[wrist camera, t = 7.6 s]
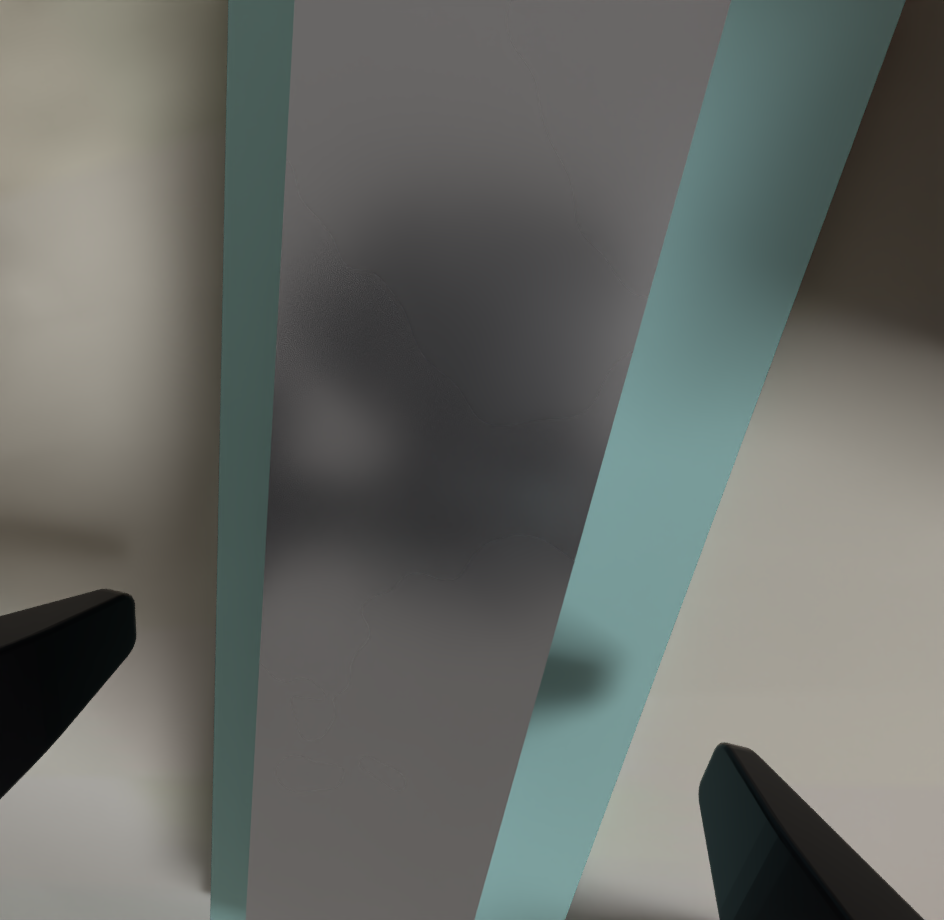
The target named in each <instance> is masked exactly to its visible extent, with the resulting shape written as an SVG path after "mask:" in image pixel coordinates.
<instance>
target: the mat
mask: <svg viewBox="0 0 944 920" xmlns="http://www.w3.org/2000/svg"><path fill="white" fill-rule="evenodd" d="M294 1H295V0H228V48H227V99H226V150H225V200H224V251H223V301H222V352H221V403H220V453H219V504H218V554H217V605H216V656H215V706H214V757H213V807H212V858H211V909H210V920H246V905H247V886H248V867H249V848H250V829H251V810H252V792H253V773H254V754H255V735H256V716H257V697H258V679H259V660H260V641H261V622H262V603H263V585H264V566H265V547H266V528H267V509H268V490H269V472H270V453H271V434H272V415H273V396H274V377H275V359H276V340H277V321H278V302H279V283H280V265H281V246H282V227H283V208H284V189H285V170H286V152H287V133H288V114H289V95H290V76H291V57H292V39H293V20H294ZM905 1H906V0H731V3H730V7H729V10H728V14H727V18H726V21H725V25H724V28H723V32H722V35H721V39H720V43H719V46H718V50H717V53H716V57H715V60H714V64H713V68H712V71H711V75H710V78H709V82H708V86H707V89H706V93H705V96H704V100H703V103H702V107H701V111H700V114H699V118H698V121H697V125H696V129H695V132H694V136H693V139H692V143H691V146H690V150H689V154H688V157H687V161H686V164H685V168H684V171H683V175H682V179H681V182H680V186H679V189H678V193H677V197H676V200H675V204H674V207H673V211H672V214H671V218H670V222H669V225H668V229H667V232H666V236H665V240H664V243H663V247H662V250H661V254H660V257H659V261H658V265H657V268H656V272H655V275H654V279H653V282H652V286H651V290H650V293H649V297H648V300H647V304H646V308H645V311H644V315H643V318H642V322H641V325H640V329H639V333H638V336H637V340H636V343H635V347H634V350H633V354H632V358H631V361H630V365H629V368H628V372H627V376H626V379H625V383H624V386H623V390H622V393H621V397H620V401H619V404H618V408H617V411H616V415H615V419H614V422H613V426H612V429H611V433H610V436H609V440H608V444H607V447H606V451H605V454H604V458H603V461H602V465H601V469H600V472H599V476H598V479H597V483H596V487H595V490H594V494H593V497H592V501H591V504H590V508H589V512H588V515H587V519H586V522H585V526H584V530H583V533H582V537H581V540H580V544H579V547H578V551H577V555H576V558H575V562H574V565H573V569H572V572H571V576H570V580H569V583H568V587H567V590H566V594H565V598H564V601H563V605H562V608H561V612H560V615H559V619H558V623H557V626H556V630H555V633H554V637H553V640H552V644H551V648H550V651H549V655H548V658H547V662H546V666H545V669H544V673H543V676H542V680H541V683H540V687H539V691H538V694H537V698H536V701H535V705H534V709H533V712H532V716H531V719H530V723H529V726H528V730H527V734H526V737H525V741H524V744H523V748H522V751H521V755H520V759H519V762H518V766H517V769H516V773H515V777H514V780H513V784H512V787H511V791H510V794H509V798H508V802H507V805H506V809H505V812H504V816H503V820H502V823H501V827H500V830H499V834H498V837H497V841H496V845H495V848H494V852H493V855H492V859H491V862H490V866H489V870H488V873H487V877H486V880H485V884H484V888H483V891H482V895H481V898H480V902H479V905H478V909H477V913H476V916H475V920H565V918H566V916H567V913H568V910H569V907H570V905H571V902H572V899H573V897H574V894H575V891H576V889H577V886H578V883H579V881H580V878H581V875H582V872H583V870H584V867H585V864H586V862H587V859H588V856H589V854H590V851H591V848H592V845H593V843H594V840H595V837H596V835H597V832H598V829H599V827H600V824H601V821H602V818H603V816H604V813H605V810H606V808H607V805H608V802H609V800H610V797H611V794H612V791H613V789H614V786H615V783H616V781H617V778H618V775H619V773H620V770H621V767H622V764H623V762H624V759H625V756H626V754H627V751H628V748H629V746H630V743H631V740H632V738H633V735H634V732H635V729H636V727H637V724H638V721H639V719H640V716H641V713H642V711H643V708H644V705H645V702H646V700H647V697H648V694H649V692H650V689H651V686H652V684H653V681H654V678H655V675H656V673H657V670H658V667H659V665H660V662H661V659H662V657H663V654H664V651H665V648H666V646H667V643H668V640H669V638H670V635H671V632H672V630H673V627H674V624H675V621H676V619H677V616H678V613H679V611H680V608H681V605H682V603H683V600H684V597H685V595H686V592H687V589H688V586H689V584H690V581H691V578H692V576H693V573H694V570H695V568H696V565H697V562H698V559H699V557H700V554H701V551H702V549H703V546H704V543H705V541H706V538H707V535H708V532H709V530H710V527H711V524H712V522H713V519H714V516H715V514H716V511H717V508H718V505H719V503H720V500H721V497H722V495H723V492H724V489H725V487H726V484H727V481H728V479H729V476H730V473H731V470H732V468H733V465H734V462H735V460H736V457H737V454H738V452H739V449H740V446H741V443H742V441H743V438H744V435H745V433H746V430H747V427H748V425H749V422H750V419H751V416H752V414H753V411H754V408H755V406H756V403H757V400H758V398H759V395H760V392H761V389H762V387H763V384H764V381H765V379H766V376H767V373H768V371H769V368H770V365H771V362H772V360H773V357H774V354H775V352H776V349H777V346H778V344H779V341H780V338H781V336H782V333H783V330H784V327H785V325H786V322H787V319H788V317H789V314H790V311H791V309H792V306H793V303H794V300H795V298H796V295H797V292H798V290H799V287H800V284H801V282H802V279H803V276H804V273H805V271H806V268H807V265H808V263H809V260H810V257H811V255H812V252H813V249H814V246H815V244H816V241H817V238H818V236H819V233H820V230H821V228H822V225H823V222H824V219H825V217H826V214H827V211H828V209H829V206H830V203H831V201H832V198H833V195H834V193H835V190H836V187H837V184H838V182H839V179H840V176H841V174H842V171H843V168H844V166H845V163H846V160H847V157H848V155H849V152H850V149H851V147H852V144H853V141H854V139H855V136H856V133H857V130H858V128H859V125H860V122H861V120H862V117H863V114H864V112H865V109H866V106H867V103H868V101H869V98H870V95H871V93H872V90H873V87H874V85H875V82H876V79H877V76H878V74H879V71H880V68H881V66H882V63H883V60H884V58H885V55H886V52H887V50H888V47H889V44H890V41H891V39H892V36H893V33H894V31H895V28H896V25H897V23H898V20H899V17H900V14H901V12H902V9H903V6H904V4H905Z"/></svg>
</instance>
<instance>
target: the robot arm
mask: <svg viewBox="0 0 944 920" xmlns="http://www.w3.org/2000/svg"><path fill="white" fill-rule="evenodd" d="M135 641H136V619H135V602H134V599H133V597H132V596H131V595H129V594H127V593H123V592H119V591H115V590H111V589H100V590H96V591H92V592H89V593H85V594H81V595H78V596H74V597H70V598H66V599H63V600H59V601H55V602H51V603H48V604H44V605H40V606H37V607H33V608H29V609H25V610H22V611H18V612H14V613H10V614H7V615H3V616H0V799H1V798H2V797H3V796H4V795H5V794H6V793H7V792H8V791H9V790H10V789H11V788H12V787H13V786H14V785H15V784H16V783H17V782H18V781H19V780H20V779H21V778H22V777H23V776H24V775H25V773H26V772H27V771H28V770H29V769H30V768H31V767H32V766H33V765H34V764H35V763H36V762H37V761H38V760H39V759H40V758H41V757H42V756H43V755H44V754H45V753H46V752H47V750H48V749H49V748H50V747H51V746H52V745H53V744H54V743H55V741H56V740H57V739H58V738H59V737H60V736H61V735H62V734H63V732H64V731H65V730H66V729H67V728H68V726H69V725H70V724H71V723H72V722H73V720H74V719H75V718H76V717H77V716H78V715H79V713H80V712H81V711H82V710H83V709H84V707H85V706H86V705H87V704H88V703H89V701H90V700H91V699H92V698H93V697H94V696H95V694H96V693H97V692H98V691H99V690H100V688H101V687H102V686H103V685H104V684H105V682H106V681H107V680H108V679H109V678H110V677H111V675H112V674H113V673H114V672H115V671H116V669H117V668H118V667H119V666H120V665H121V663H122V662H123V661H124V660H125V659H126V658H127V656H128V655H129V654H130V652H131V650H132V649H133V647H134V644H135ZM699 805H700V810H701V816H702V822H703V827H704V833H705V839H706V845H707V850H708V856H709V862H710V867H711V873H712V879H713V884H714V890H715V896H716V902H717V907H718V913H719V918H720V920H924V919H923V918H922V917H921V916H920V915H919V914H918V913H917V912H916V911H915V910H914V909H913V908H912V907H911V906H910V905H909V904H908V903H907V902H906V901H905V900H904V899H903V898H902V897H901V896H900V895H899V894H898V893H897V892H896V891H895V890H894V889H893V888H892V887H891V886H890V885H889V884H888V883H887V882H886V881H885V880H884V879H883V878H882V877H881V876H880V875H879V874H878V873H877V872H876V871H875V870H874V869H873V868H872V867H871V866H870V865H869V864H868V863H867V862H866V861H865V860H863V859H862V858H861V857H860V856H859V855H858V854H857V853H856V852H855V851H854V850H853V849H852V848H851V847H850V846H849V845H848V844H847V843H846V842H845V841H844V840H843V839H842V838H841V837H840V836H839V835H838V834H837V833H836V832H835V831H834V830H833V829H832V828H831V827H830V826H829V825H828V824H827V823H826V822H825V821H824V820H823V819H822V818H821V817H820V816H819V815H818V814H817V813H816V812H815V811H814V810H813V809H812V808H811V807H810V806H809V805H808V804H807V803H806V802H805V801H804V800H803V799H802V798H801V797H800V796H799V795H798V794H797V793H796V792H795V791H794V790H793V789H792V788H791V787H790V786H789V785H788V784H787V783H786V782H785V781H784V780H783V779H782V778H781V777H780V776H779V775H778V774H777V773H776V772H775V771H774V770H773V769H772V768H771V767H770V766H769V765H768V764H767V763H766V762H765V761H763V760H762V759H761V758H760V757H759V756H758V755H757V754H756V753H755V752H754V751H753V750H751V749H749V748H746V747H742V746H738V745H734V744H730V743H720V744H719V745H718V746H717V747H716V748H715V750H714V752H713V755H712V757H711V759H710V761H709V764H708V766H707V768H706V770H705V773H704V775H703V777H702V780H701V782H700V786H699Z"/></svg>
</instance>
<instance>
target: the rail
mask: <svg viewBox="0 0 944 920" xmlns="http://www.w3.org/2000/svg"><path fill="white" fill-rule="evenodd" d="M730 3H731V0H295V1H294V20H293V39H292V57H291V76H290V95H289V114H288V133H287V152H286V170H285V189H284V208H283V227H282V246H281V265H280V283H279V302H278V321H277V340H276V359H275V377H274V396H273V415H272V434H271V453H270V472H269V490H268V509H267V528H266V547H265V566H264V585H263V603H262V622H261V641H260V660H259V679H258V697H257V716H256V735H255V754H254V773H253V792H252V810H251V829H250V848H249V867H248V886H247V905H246V920H475V916H476V913H477V909H478V905H479V902H480V898H481V895H482V891H483V888H484V884H485V880H486V877H487V873H488V870H489V866H490V862H491V859H492V855H493V852H494V848H495V845H496V841H497V837H498V834H499V830H500V827H501V823H502V820H503V816H504V812H505V809H506V805H507V802H508V798H509V794H510V791H511V787H512V784H513V780H514V777H515V773H516V769H517V766H518V762H519V759H520V755H521V751H522V748H523V744H524V741H525V737H526V734H527V730H528V726H529V723H530V719H531V716H532V712H533V709H534V705H535V701H536V698H537V694H538V691H539V687H540V683H541V680H542V676H543V673H544V669H545V666H546V662H547V658H548V655H549V651H550V648H551V644H552V640H553V637H554V633H555V630H556V626H557V623H558V619H559V615H560V612H561V608H562V605H563V601H564V598H565V594H566V590H567V587H568V583H569V580H570V576H571V572H572V569H573V565H574V562H575V558H576V555H577V551H578V547H579V544H580V540H581V537H582V533H583V530H584V526H585V522H586V519H587V515H588V512H589V508H590V504H591V501H592V497H593V494H594V490H595V487H596V483H597V479H598V476H599V472H600V469H601V465H602V461H603V458H604V454H605V451H606V447H607V444H608V440H609V436H610V433H611V429H612V426H613V422H614V419H615V415H616V411H617V408H618V404H619V401H620V397H621V393H622V390H623V386H624V383H625V379H626V376H627V372H628V368H629V365H630V361H631V358H632V354H633V350H634V347H635V343H636V340H637V336H638V333H639V329H640V325H641V322H642V318H643V315H644V311H645V308H646V304H647V300H648V297H649V293H650V290H651V286H652V282H653V279H654V275H655V272H656V268H657V265H658V261H659V257H660V254H661V250H662V247H663V243H664V240H665V236H666V232H667V229H668V225H669V222H670V218H671V214H672V211H673V207H674V204H675V200H676V197H677V193H678V189H679V186H680V182H681V179H682V175H683V171H684V168H685V164H686V161H687V157H688V154H689V150H690V146H691V143H692V139H693V136H694V132H695V129H696V125H697V121H698V118H699V114H700V111H701V107H702V103H703V100H704V96H705V93H706V89H707V86H708V82H709V78H710V75H711V71H712V68H713V64H714V60H715V57H716V53H717V50H718V46H719V43H720V39H721V35H722V32H723V28H724V25H725V21H726V18H727V14H728V10H729V7H730Z"/></svg>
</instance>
